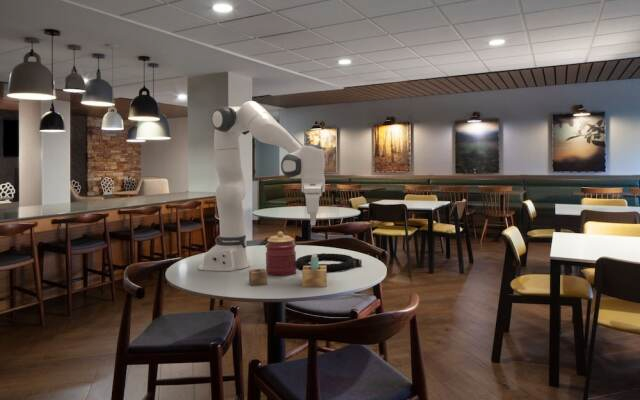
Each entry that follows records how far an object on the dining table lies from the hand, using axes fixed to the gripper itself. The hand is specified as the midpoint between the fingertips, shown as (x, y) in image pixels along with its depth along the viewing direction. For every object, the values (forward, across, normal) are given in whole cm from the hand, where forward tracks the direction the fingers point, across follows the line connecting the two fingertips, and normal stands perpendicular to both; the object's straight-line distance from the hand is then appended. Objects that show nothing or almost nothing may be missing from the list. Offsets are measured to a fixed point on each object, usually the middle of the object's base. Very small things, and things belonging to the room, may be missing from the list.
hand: (313, 223), depth 175 cm
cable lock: (+24, -31, +5) cm, 40 cm away
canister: (+24, -19, -15) cm, 34 cm away
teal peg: (+23, 0, 0) cm, 23 cm away
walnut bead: (+24, -1, -22) cm, 32 cm away
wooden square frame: (+23, 0, 0) cm, 23 cm away
